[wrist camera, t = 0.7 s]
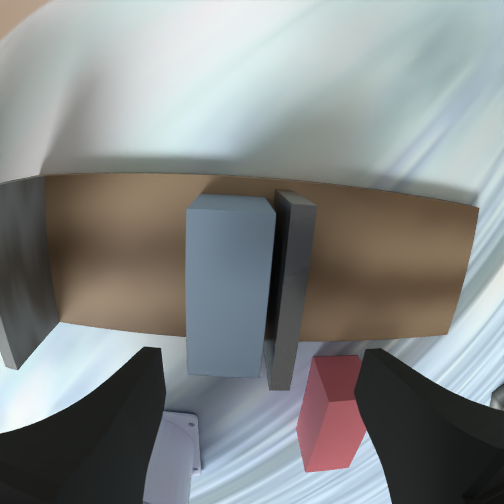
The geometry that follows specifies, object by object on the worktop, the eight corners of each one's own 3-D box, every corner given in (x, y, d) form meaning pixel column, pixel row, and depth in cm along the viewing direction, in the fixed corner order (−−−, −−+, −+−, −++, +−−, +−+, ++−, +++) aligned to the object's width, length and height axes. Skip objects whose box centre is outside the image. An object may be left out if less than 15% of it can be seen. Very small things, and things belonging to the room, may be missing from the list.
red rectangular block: (334, 425, 24) (348, 467, 20) (295, 427, 24) (305, 472, 19) (357, 354, 22) (380, 397, 17) (312, 355, 22) (329, 401, 17)
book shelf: (440, 328, 22) (489, 377, 15) (52, 313, 20) (3, 365, 13) (471, 205, 19) (538, 228, 12) (38, 175, 17) (-33, 190, 10)
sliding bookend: (277, 336, 20) (289, 390, 15) (261, 335, 20) (269, 390, 15) (293, 190, 17) (317, 205, 12) (275, 189, 17) (291, 203, 12)
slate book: (254, 327, 20) (259, 377, 15) (197, 324, 19) (187, 374, 15) (264, 197, 17) (276, 213, 12) (200, 193, 17) (186, 208, 12)
